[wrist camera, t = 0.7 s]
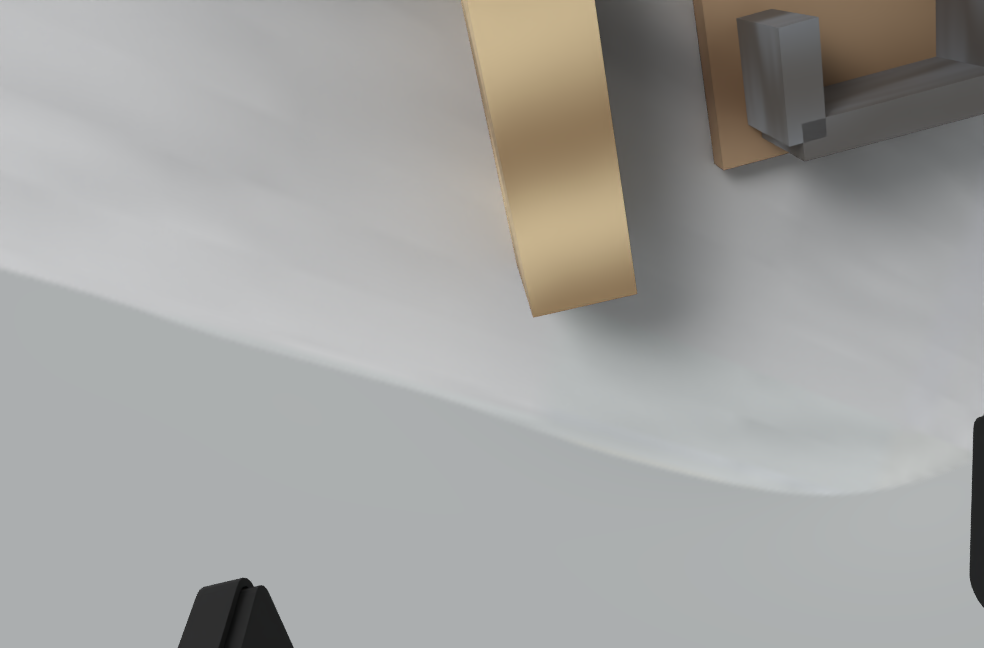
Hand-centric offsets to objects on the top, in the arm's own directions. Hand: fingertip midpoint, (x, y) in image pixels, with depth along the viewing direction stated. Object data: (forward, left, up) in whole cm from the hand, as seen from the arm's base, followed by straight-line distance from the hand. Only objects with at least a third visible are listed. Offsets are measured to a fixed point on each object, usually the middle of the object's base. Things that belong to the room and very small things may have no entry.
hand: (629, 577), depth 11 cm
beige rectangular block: (-2, +2, -21) cm, 21 cm away
